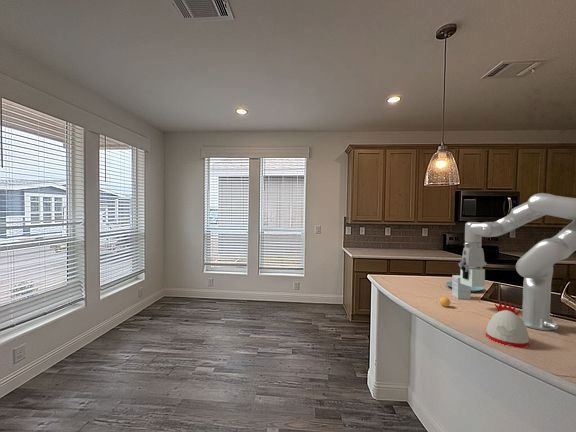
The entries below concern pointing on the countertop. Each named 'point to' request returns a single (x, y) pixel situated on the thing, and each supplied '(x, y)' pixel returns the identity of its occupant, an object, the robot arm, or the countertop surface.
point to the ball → (444, 301)
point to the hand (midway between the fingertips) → (472, 278)
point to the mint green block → (473, 277)
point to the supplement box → (460, 288)
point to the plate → (473, 289)
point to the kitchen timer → (507, 327)
